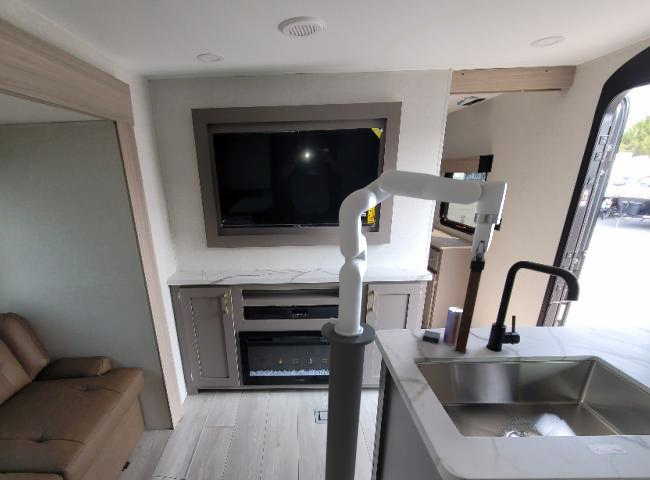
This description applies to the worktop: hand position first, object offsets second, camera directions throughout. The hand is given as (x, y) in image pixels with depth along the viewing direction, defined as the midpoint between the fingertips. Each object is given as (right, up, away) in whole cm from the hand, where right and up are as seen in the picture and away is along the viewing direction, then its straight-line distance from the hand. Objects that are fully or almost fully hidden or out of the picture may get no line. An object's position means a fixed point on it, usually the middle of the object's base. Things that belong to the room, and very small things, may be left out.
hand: (476, 269), depth 118 cm
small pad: (0, 0, 0) cm, 0 cm away
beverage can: (0, -29, +18) cm, 34 cm away
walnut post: (0, -31, +12) cm, 34 cm away
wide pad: (-7, -28, +21) cm, 36 cm away
